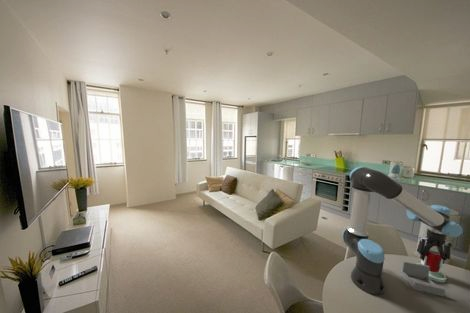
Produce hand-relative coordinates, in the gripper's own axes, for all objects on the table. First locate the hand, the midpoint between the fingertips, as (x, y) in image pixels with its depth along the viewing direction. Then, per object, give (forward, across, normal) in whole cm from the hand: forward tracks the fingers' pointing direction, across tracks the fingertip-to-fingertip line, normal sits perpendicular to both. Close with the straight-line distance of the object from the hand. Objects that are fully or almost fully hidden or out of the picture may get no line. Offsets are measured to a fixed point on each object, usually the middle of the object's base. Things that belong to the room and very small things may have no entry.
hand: (430, 266), depth 105 cm
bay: (+5, -10, -12) cm, 16 cm away
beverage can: (+2, 0, 0) cm, 2 cm away
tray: (+5, 0, 0) cm, 5 cm away
